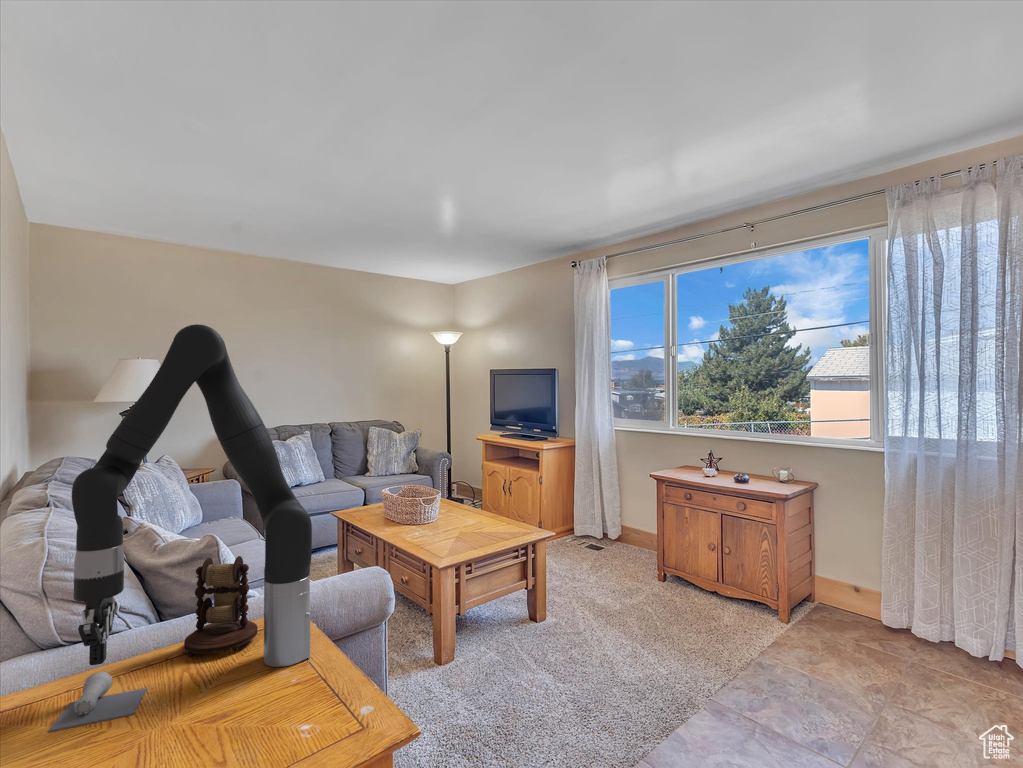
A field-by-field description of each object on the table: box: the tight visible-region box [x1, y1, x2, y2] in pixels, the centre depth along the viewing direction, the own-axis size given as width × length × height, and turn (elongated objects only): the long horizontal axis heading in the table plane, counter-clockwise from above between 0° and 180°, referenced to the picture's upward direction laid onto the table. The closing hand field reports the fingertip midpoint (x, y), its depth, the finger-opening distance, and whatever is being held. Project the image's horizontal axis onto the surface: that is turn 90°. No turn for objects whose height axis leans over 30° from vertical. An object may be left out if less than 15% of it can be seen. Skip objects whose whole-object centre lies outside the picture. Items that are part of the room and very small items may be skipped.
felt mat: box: [47, 687, 148, 733], centre depth 93 cm, size 12×9×1 cm
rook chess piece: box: [74, 671, 113, 715], centre depth 94 cm, size 4×4×8 cm
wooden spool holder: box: [183, 555, 258, 657], centre depth 119 cm, size 15×15×20 cm
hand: (97, 662), depth 97 cm, fingers closed
